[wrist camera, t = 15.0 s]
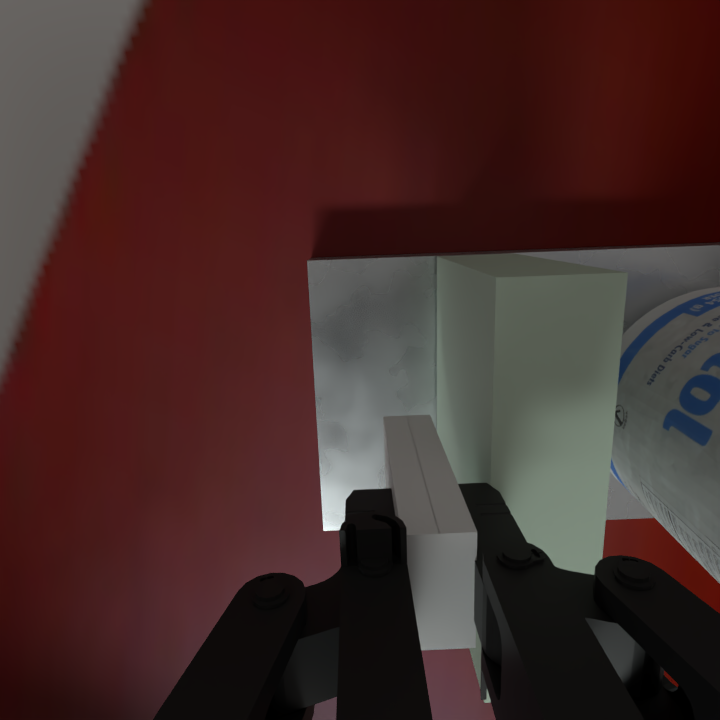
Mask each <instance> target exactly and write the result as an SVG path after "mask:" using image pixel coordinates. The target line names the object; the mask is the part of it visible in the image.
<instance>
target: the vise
mask: <svg viewBox="0 0 720 720" xmlns="http://www.w3.org/2000/svg"><path fill="white" fill-rule="evenodd" d="M512 253H514V254H520V255H526V256H532V257H538V258H544V259H550V260H556V261H562V262H568V263H574V264H580V265H586V266H592V267H598V268H604V269H610V270H616V271H622V272H628V277H627V289H626V300H625V311H624V322H623V333H622V335H623V334H624V333H625V332H626V331H627V330H628V329H629V328H630V327H631V326H632V325H633V324H634V323H635V322H636V321H637V320H639V319H640V318H641V317H643V316H644V315H645V314H647V313H648V312H649V311H651V310H652V309H654V308H656V307H657V306H659V305H661V304H663V303H665V302H667V301H669V300H671V299H673V298H676V297H678V296H681V295H684V294H687V293H690V292H693V291H697V290H702V289H707V288H715V287H720V242H716V243H690V244H663V245H637V246H610V247H584V248H558V249H531V250H505V251H478V252H452V253H425V254H399V255H372V256H346V257H319V258H310V259H309V260H307V267H308V283H309V300H310V316H311V333H312V349H313V366H314V382H315V399H316V415H317V432H318V448H319V465H320V481H321V498H322V514H323V531H331V530H340V527H341V525H342V523H343V522H344V521H345V503H346V499H347V498H348V496H349V495H350V494H351V493H352V491H353V490H362V489H384V488H386V485H385V455H384V426H383V417H385V416H407V415H430V416H431V418H432V421H433V423H434V426H435V428H436V431H437V256H459V255H485V254H512ZM637 518H654V516H653V515H652V514H651V513H650V512H649V511H648V510H647V509H646V508H645V507H644V506H643V505H642V504H641V503H640V502H639V501H638V500H637V499H636V498H635V497H634V496H633V495H632V494H631V493H630V492H629V491H628V490H627V489H626V488H625V487H624V486H623V485H622V484H621V483H620V482H619V481H618V480H617V479H616V478H615V477H614V476H613V474H612V473H611V472H610V477H609V488H608V499H607V510H606V520H612V519H637Z"/></svg>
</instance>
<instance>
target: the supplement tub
mask: <svg viewBox="0 0 720 720" xmlns="http://www.w3.org/2000/svg"><path fill="white" fill-rule="evenodd" d="M610 472H611V473H612V474H613V476H614V477H615V478H616V479H617V480H618V481H619V482H620V483H621V484H622V485H623V486H624V487H625V488H626V489H627V490H628V491H629V492H630V493H631V494H632V495H633V496H634V497H635V498H636V499H637V500H638V501H639V502H640V503H641V504H642V505H643V506H644V507H645V508H646V509H647V510H648V511H649V512H650V513H651V514H652V515H653V516H654V518H655V519H656V520H657V521H658V522H659V523H660V524H661V525H662V526H663V527H664V528H665V529H666V530H667V531H668V532H669V533H670V534H671V535H672V536H673V537H674V538H675V539H676V540H677V541H678V542H679V543H680V544H681V545H682V546H683V547H684V548H685V549H686V550H687V551H688V552H689V553H690V554H691V555H692V556H693V557H694V558H695V559H696V560H697V561H698V562H699V563H700V564H701V565H702V566H703V567H704V568H705V569H706V570H707V571H708V572H709V573H710V574H711V575H712V576H713V577H714V578H715V579H716V580H717V581H718V582H719V583H720V287H715V288H707V289H702V290H697V291H693V292H690V293H687V294H684V295H681V296H678V297H676V298H673V299H671V300H669V301H667V302H665V303H663V304H661V305H659V306H657V307H656V308H654V309H652V310H651V311H649V312H648V313H647V314H645V315H644V316H643V317H641V318H640V319H639V320H637V321H636V322H635V323H634V324H633V325H632V326H631V327H630V328H629V329H628V330H627V331H626V332H625V333H624V334H623V335H622V344H621V355H620V366H619V377H618V388H617V399H616V411H615V422H614V433H613V444H612V455H611V466H610Z"/></svg>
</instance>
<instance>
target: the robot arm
mask: <svg viewBox="0 0 720 720" xmlns="http://www.w3.org/2000/svg"><path fill="white" fill-rule="evenodd" d="M383 426H384V455H385V485H386V488H384V489H362V490H353V491H352V493H351V494H350V495H349V496H348V498H347V499H346V503H345V521H344V522H343V523H342V525H341V527H340V530H339V536H340V553H341V568H340V569H339V571H338V572H337V573H336V574H335V575H333V576H332V577H330V578H329V579H327V580H325V581H323V582H320V583H318V584H315V585H311V586H308V587H304V584H303V582H302V581H301V580H299V579H298V578H297V577H295V576H293V575H289V574H286V573H269V574H265V575H262V576H258V577H256V578H254V579H252V580H250V581H249V582H247V583H246V584H245V585H244V586H243V587H242V588H241V589H240V590H239V591H238V592H237V594H236V595H235V597H234V598H233V600H232V601H231V603H230V604H229V606H228V607H227V609H226V610H225V612H224V613H223V615H222V616H221V618H220V619H219V621H218V622H217V624H216V625H215V627H214V628H213V630H212V631H211V633H210V634H209V636H208V637H207V639H206V640H205V642H204V643H203V645H202V646H201V648H200V649H199V651H198V652H197V654H196V655H195V657H194V658H193V660H192V661H191V663H190V664H189V666H188V667H187V669H186V670H185V672H184V673H183V675H182V676H181V678H180V679H179V681H178V682H177V684H176V686H175V687H174V689H173V690H172V692H171V693H170V695H169V696H168V698H167V699H166V701H165V702H164V704H163V705H162V707H161V708H160V710H159V711H158V713H157V714H156V716H155V717H154V719H153V720H312V717H313V714H314V706H315V704H317V703H320V702H323V701H326V700H328V699H331V698H334V697H337V716H336V720H432V714H431V708H430V701H429V695H428V689H427V683H426V677H425V671H424V664H423V658H422V652H421V650H438V649H461V648H476V629H477V632H478V636H479V639H480V642H481V689H480V690H481V700H486V698H487V690H488V693H489V697H490V700H491V704H492V707H493V711H494V714H495V718H496V720H720V614H719V613H718V612H716V611H715V610H714V609H713V608H711V607H710V606H709V605H707V604H706V603H705V602H704V601H702V600H701V599H700V598H698V597H697V596H696V595H694V594H693V593H692V592H691V591H689V590H688V589H687V588H685V587H684V586H683V585H681V584H680V583H679V582H678V581H676V580H675V579H674V578H672V577H671V576H670V575H668V574H667V573H666V572H665V571H663V570H662V569H660V568H658V567H657V566H655V565H653V564H652V563H650V562H647V561H644V560H641V559H638V558H635V557H628V556H622V555H621V556H609V557H606V558H604V559H601V560H599V562H598V563H597V565H596V566H595V573H594V575H592V574H586V573H580V572H574V571H569V570H565V569H560V568H558V567H555V566H554V564H553V563H552V561H551V559H550V558H549V556H548V555H547V554H546V553H545V552H544V551H543V550H542V549H540V548H538V547H536V546H535V545H533V544H530V543H527V541H526V539H525V537H524V536H523V534H522V532H521V530H520V528H519V526H518V525H517V523H516V521H515V519H514V517H513V515H511V512H510V510H509V508H508V506H507V505H506V503H505V501H504V499H503V497H502V495H501V494H500V492H499V491H498V490H496V489H495V488H493V487H492V486H491V485H489V484H488V483H464V484H458V483H457V480H456V478H455V475H454V473H453V470H452V468H451V466H450V463H449V461H448V458H447V456H446V453H445V451H444V448H443V446H442V443H441V441H440V438H439V436H438V433H437V431H436V428H435V426H434V423H433V421H432V418H431V416H430V415H407V416H385V417H383ZM664 670H665V671H666V672H667V673H668V674H669V675H670V676H671V677H672V678H673V679H674V680H675V681H676V682H677V683H678V684H679V686H678V687H676V686H675V685H674V684H672V683H671V682H670V681H669V680H668V679H667V678H666V677H665V676H664Z"/></svg>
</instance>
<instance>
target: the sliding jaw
mask: <svg viewBox="0 0 720 720" xmlns="http://www.w3.org/2000/svg"><path fill="white" fill-rule="evenodd" d="M627 277H628V272H622V271H616V270H610V269H604V268H598V267H592V266H586V265H580V264H574V263H568V262H562V261H556V260H550V259H544V258H538V257H532V256H526V255H520V254H514V253H512V254H485V255H459V256H437V433H438V436H439V438H440V441H441V443H442V446H443V448H444V451H445V453H446V456H447V458H448V461H449V463H450V466H451V468H452V470H453V473H454V475H455V478H456V480H457V483H458V484H464V483H488V484H489V485H491V486H492V487H493V488H495V489H496V490H498V491H499V492H500V494H501V495H502V497H503V499H504V501H505V503H506V505H507V506H508V508H509V510H510V512H511V515H513V517H514V519H515V521H516V523H517V525H518V526H519V528H520V530H521V532H522V534H523V536H524V537H525V539H526V541H527V543H530V544H533V545H535V546H536V547H538V548H540V549H542V550H543V551H544V552H545V553H546V554H547V555H548V556H549V558H550V559H551V561H552V563H553V564H554V566H555V567H558V568H560V569H565V570H569V571H574V572H580V573H586V574H592V575H594V573H595V566H596V565H597V563H598V562H599V560H601V559H602V555H603V544H604V533H605V521H606V510H607V499H608V488H609V477H610V466H611V455H612V444H613V433H614V422H615V411H616V399H617V388H618V377H619V366H620V355H621V344H622V333H623V322H624V311H625V300H626V289H627ZM469 649H470V653H471V656H472V660H473V664H474V667H475V671H476V675H477V678H478V682H479V685H480V689H481V642H480V639H479V636H478V632H477V629H476V648H469ZM489 702H491V700H490V697H489V693H488V690H487V698H486V700H484V703H489Z"/></svg>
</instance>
